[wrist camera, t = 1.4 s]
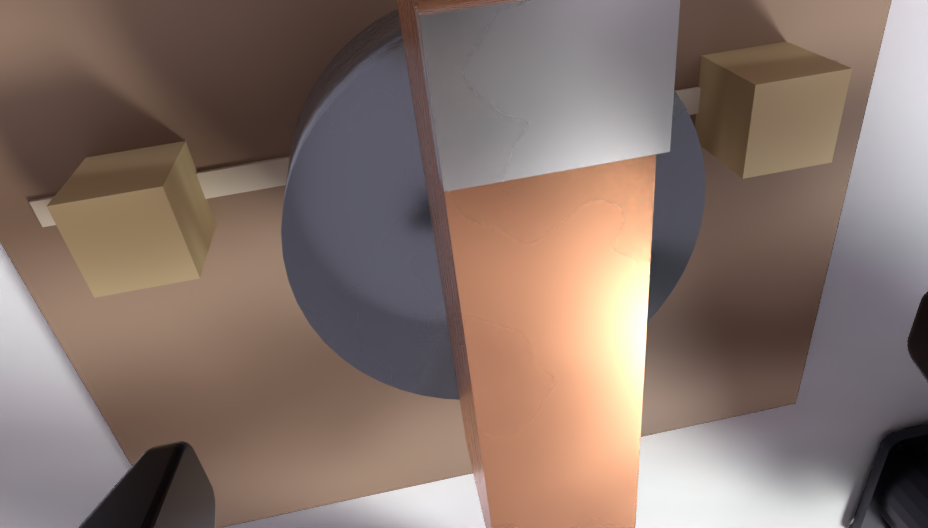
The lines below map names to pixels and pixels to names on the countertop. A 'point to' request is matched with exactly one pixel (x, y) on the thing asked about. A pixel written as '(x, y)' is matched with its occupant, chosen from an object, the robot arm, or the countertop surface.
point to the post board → (260, 217)
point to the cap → (503, 230)
